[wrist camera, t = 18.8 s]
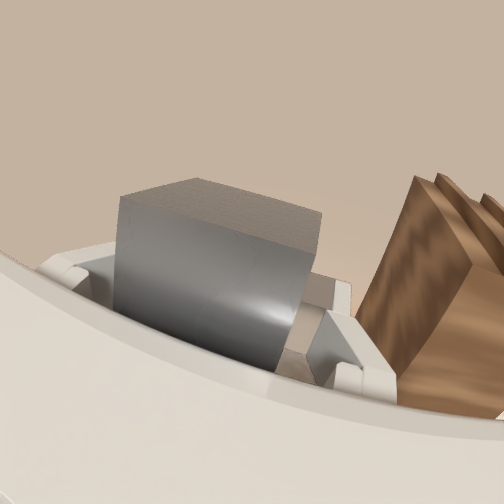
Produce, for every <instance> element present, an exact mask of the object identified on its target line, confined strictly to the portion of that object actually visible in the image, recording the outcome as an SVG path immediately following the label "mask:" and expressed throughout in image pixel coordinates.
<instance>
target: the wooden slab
mask: <svg viewBox="0 0 504 504" xmlns="http://www.w3.org/2000/svg"><path fill="white" fill-rule="evenodd" d="M355 319H356V320H357V321H358V323H359V324H360V325H361V327H362V328H363V329H364V331H365V332H366V333H367V335H368V336H369V338H370V339H371V340H372V342H373V343H374V344H375V346H376V347H377V349H378V350H379V351H380V353H381V354H382V356H383V357H384V358H385V360H386V361H387V363H388V364H389V365H390V367H391V368H392V370H393V371H394V372H395V374H396V387H397V405H401V406H406V407H411V408H417V409H422V410H428V411H434V412H440V413H447V414H454V415H461V416H469V417H477V418H486V419H495V418H496V417H498V416H499V415H500V414H501V413H502V412H503V411H504V208H503V207H502V206H501V205H500V204H499V203H498V202H497V201H496V200H495V199H493V198H492V197H491V196H489V195H487V194H483V197H482V199H481V201H480V203H479V202H477V201H475V200H472V199H470V198H469V197H468V196H467V195H466V194H465V193H464V192H463V191H462V190H461V189H460V188H459V187H458V186H456V184H455V183H454V182H453V181H452V180H450V179H449V178H448V177H447V176H445V175H442V174H440V173H437V176H436V179H435V182H434V183H433V182H430V181H428V180H425V179H423V178H420V177H417V176H414V178H413V181H412V184H411V187H410V189H409V192H408V195H407V198H406V200H405V203H404V206H403V209H402V211H401V214H400V216H399V219H398V221H397V224H396V226H395V229H394V231H393V234H392V236H391V239H390V241H389V243H388V246H387V248H386V251H385V253H384V255H383V258H382V260H381V262H380V264H379V267H378V269H377V271H376V273H375V276H374V278H373V280H372V282H371V284H370V286H369V289H368V291H367V293H366V295H365V297H364V299H363V301H362V303H361V305H360V307H359V309H358V312H357V314H356V316H355Z"/></svg>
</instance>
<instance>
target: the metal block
mask: <svg viewBox="0 0 504 504" xmlns="http://www.w3.org/2000/svg"><path fill="white" fill-rule="evenodd" d="M321 217H322V213H320V212H317V211H313V210H311V209H307V208H304V207H301V206H297V205H294V204H291V203H287V202H284V201H280V200H277V199H274V198H270V197H266V196H263V195H259V194H256V193H252V192H249V191H245V190H241V189H238V188H234V187H230V186H226V185H223V184H219V183H215V182H211V181H207V180H203V179H199V178H193V179H189V180H184V181H180V182H176V183H172V184H167V185H163V186H159V187H155V188H151V189H148V190H143V191H139V192H136V193H132V194H128V195H124V196H121V197H120V204H119V214H118V224H117V235H116V247H115V262H114V283H113V311H114V312H117V313H119V314H121V315H123V316H125V317H128V318H130V319H132V320H134V321H137V322H139V323H141V324H143V325H146V326H148V327H150V328H153V329H155V330H157V331H160V332H162V333H165V334H167V335H169V336H172V337H174V338H177V339H179V340H182V341H184V342H187V343H189V344H192V345H195V346H197V347H200V348H202V349H205V350H208V351H210V352H213V353H216V354H219V355H221V356H224V357H227V358H230V359H233V360H236V361H239V362H241V363H244V364H247V365H250V366H253V367H256V368H259V369H263V370H266V371H269V372H272V373H274V372H275V369H276V367H277V364H278V362H279V359H280V356H281V354H282V351H283V348H284V346H285V343H286V340H287V337H288V335H289V332H290V329H291V326H292V324H293V321H294V318H295V315H296V312H297V310H298V307H299V304H300V301H301V298H302V295H303V292H304V289H305V286H306V283H307V281H308V278H309V275H310V272H311V268H312V265H313V262H314V259H315V256H316V251H317V244H318V238H319V231H320V225H321Z"/></svg>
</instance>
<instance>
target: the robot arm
mask: <svg viewBox="0 0 504 504" xmlns="http://www.w3.org/2000/svg"><path fill="white" fill-rule="evenodd" d="M115 247H116V241H115V242H110V243H105V244H100V245H96V246H91V247H86V248H81V249H77V250H73V251H68V252H63V253H59V254H55V255H53V256H52V257H51V258H49V259H48V260H47V261H46V262H44V263H43V264H41V265H40V266H39V267H37V268H36V269H35V270H32V269H31V268H29V267H27V266H25V265H24V264H22V263H20V262H18V261H17V260H15V259H13V258H12V257H10V256H8V255H7V254H5V253H3V252H2V251H0V504H504V420H496V419H486V418H477V417H469V416H461V415H454V414H447V413H440V412H434V411H428V410H422V409H417V408H411V407H406V406H401V405H397V387H396V374H395V372H394V371H393V370H392V368H391V367H390V365H389V364H388V363H387V361H386V360H385V358H384V357H383V356H382V354H381V353H380V351H379V350H378V349H377V347H376V346H375V344H374V343H373V342H372V340H371V339H370V338H369V336H368V335H367V333H366V332H365V331H364V329H363V328H362V327H361V325H360V324H359V323H358V321H357V320H356V319H355V318H354V317H351V288H352V287H351V286H352V285H351V283H349V282H345V281H341V280H337V279H334V278H330V277H327V276H323V275H320V274H316V273H312V272H310V275H309V278H308V281H307V283H306V286H305V289H304V292H303V295H302V298H301V301H300V304H299V307H298V310H297V312H296V315H295V318H294V321H293V324H292V326H291V329H290V332H289V335H288V337H287V340H286V343H285V346H284V348H286V349H289V350H292V351H295V352H298V353H301V354H304V355H306V358H307V361H308V363H309V366H310V368H311V371H312V373H313V376H314V378H315V381H316V384H317V386H316V385H312V384H309V383H305V382H302V381H298V380H295V379H292V378H288V377H285V376H282V375H278V374H275V373H272V372H269V371H266V370H263V369H259V368H256V367H253V366H250V365H247V364H244V363H241V362H239V361H236V360H233V359H230V358H227V357H224V356H221V355H219V354H216V353H213V352H210V351H208V350H205V349H202V348H200V347H197V346H195V345H192V344H189V343H187V342H184V341H182V340H179V339H177V338H174V337H172V336H169V335H167V334H165V333H162V332H160V331H157V330H155V329H153V328H150V327H148V326H146V325H143V324H141V323H139V322H137V321H134V320H132V319H130V318H128V317H125V316H123V315H121V314H119V313H117V312H114V311H113V283H114V262H115Z"/></svg>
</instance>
